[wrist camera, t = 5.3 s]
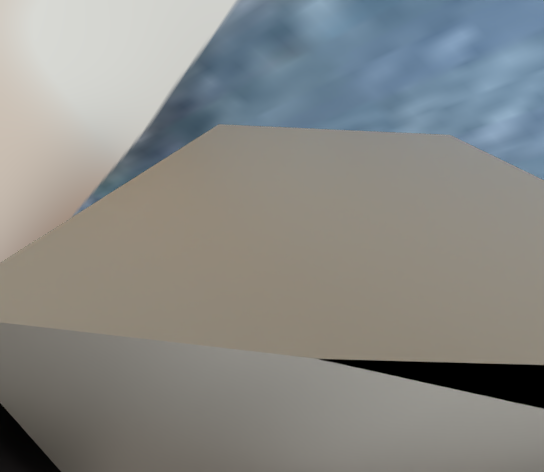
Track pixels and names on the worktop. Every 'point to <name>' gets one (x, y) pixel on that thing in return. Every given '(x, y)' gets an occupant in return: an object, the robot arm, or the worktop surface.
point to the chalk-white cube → (288, 311)
